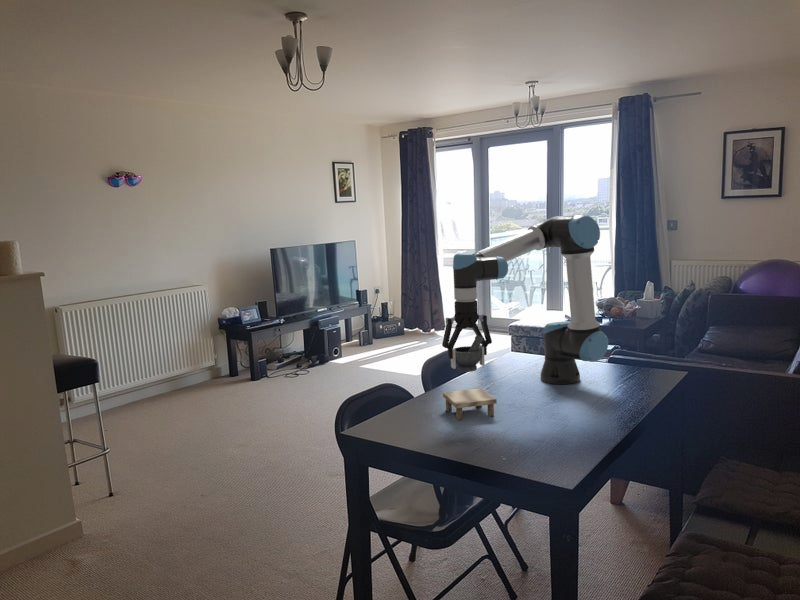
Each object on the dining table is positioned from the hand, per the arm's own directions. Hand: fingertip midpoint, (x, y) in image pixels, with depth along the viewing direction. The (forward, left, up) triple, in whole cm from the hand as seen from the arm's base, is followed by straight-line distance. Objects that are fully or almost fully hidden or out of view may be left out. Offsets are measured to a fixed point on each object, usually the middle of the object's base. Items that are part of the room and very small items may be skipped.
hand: (467, 366), depth 200 cm
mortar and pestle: (0, 0, -1) cm, 1 cm away
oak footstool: (0, 0, -16) cm, 16 cm away
